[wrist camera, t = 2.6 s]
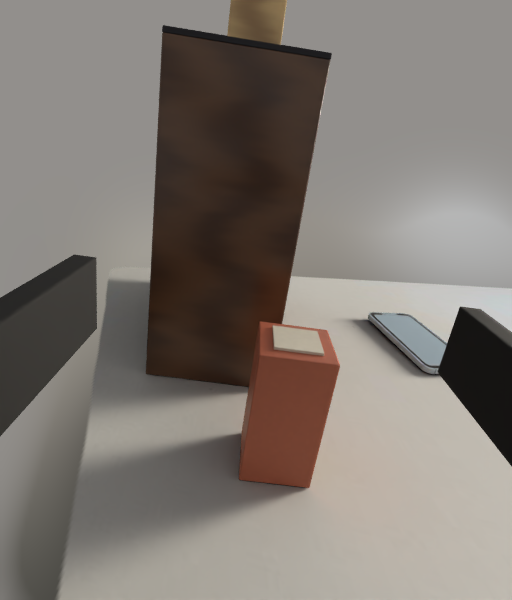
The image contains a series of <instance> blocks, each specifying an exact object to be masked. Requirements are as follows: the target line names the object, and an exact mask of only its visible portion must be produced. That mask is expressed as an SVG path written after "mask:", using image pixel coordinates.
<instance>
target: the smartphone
mask: <svg viewBox="0 0 512 600" xmlns="http://www.w3.org/2000/svg"><path fill="white" fill-rule="evenodd" d="M368 319H369V320H370V321H371V322H372V323H373V324H374V325H375V326H376V327H377V328H379V329H380V330H381V331H382V332H383V333H384V334H385V335H386V336H387V337H388V338H389V339H390V340H391V341H392V342H393V343H394V344H395V345H396V346H397V347H398V348H399V349H401V350H402V351H403V352H404V353H405V354H406V355H407V356H408V357H409V358H410V359H411V360H412V361H413V362H414V363H415V364H416V365H417V366H418V367H419V368H420V369H422V370H423V371H425V372H427V373H430V374H439V373H438V369H439V366H440V363H441V360H442V357H443V354H444V351H445V349H446V346H447V343H446V342H445V341H444V340H442V339H441V338H440V337H438V336H437V335H436V334H435V333H433V332H432V331H431V330H429V329H428V328H427V327H426V326H424V325H423V324H422V323H420V322H419V321H418V320H417V319H415V318H414V317H413V316H411V315H409V314H405V313H379V312H370V313H369V315H368Z"/></svg>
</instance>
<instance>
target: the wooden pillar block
mask: <svg viewBox="0 0 512 600" xmlns="http://www.w3.org/2000/svg"><path fill="white" fill-rule="evenodd" d="M286 3H287V0H231V5H230V15H229V25H228V35H227V36H231V37H237V38H243V39H249V40H255V41H261V42H267V43H273V44H279V45H281V39H282V32H283V25H284V17H285V10H286Z"/></svg>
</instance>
